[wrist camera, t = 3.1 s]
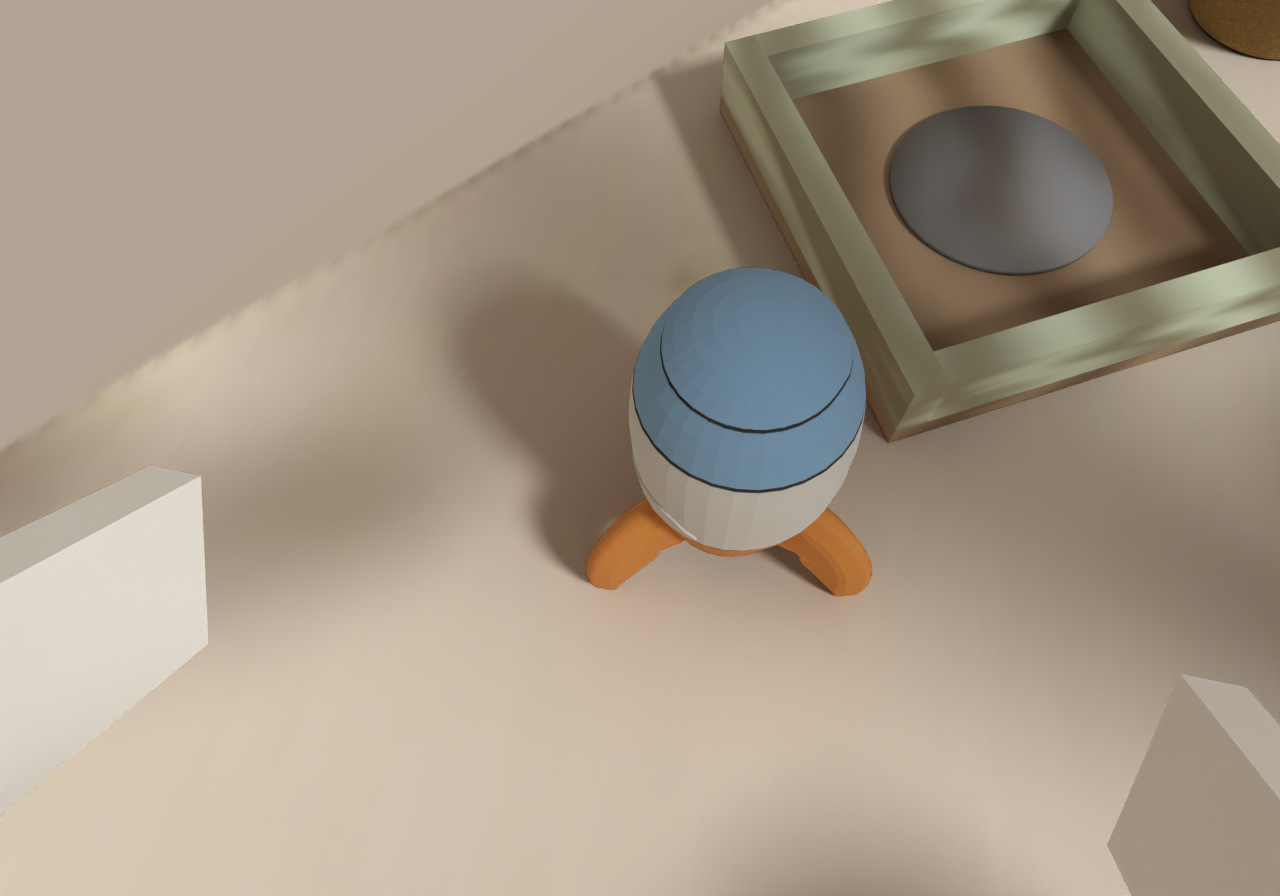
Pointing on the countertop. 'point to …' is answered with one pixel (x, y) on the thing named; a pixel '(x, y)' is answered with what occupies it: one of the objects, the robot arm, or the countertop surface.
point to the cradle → (1008, 192)
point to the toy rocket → (743, 430)
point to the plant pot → (1242, 24)
